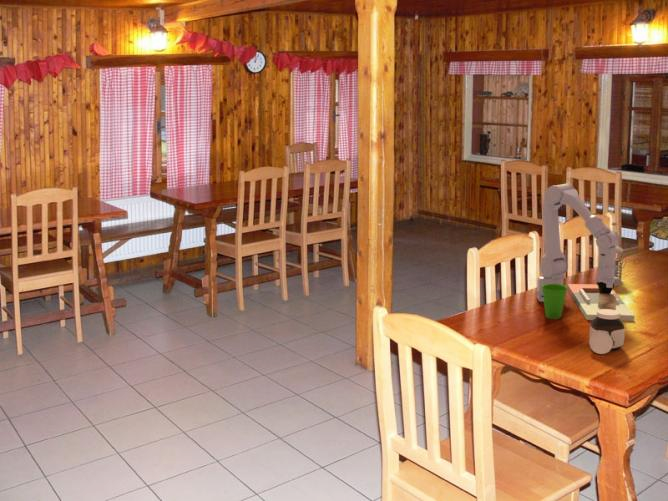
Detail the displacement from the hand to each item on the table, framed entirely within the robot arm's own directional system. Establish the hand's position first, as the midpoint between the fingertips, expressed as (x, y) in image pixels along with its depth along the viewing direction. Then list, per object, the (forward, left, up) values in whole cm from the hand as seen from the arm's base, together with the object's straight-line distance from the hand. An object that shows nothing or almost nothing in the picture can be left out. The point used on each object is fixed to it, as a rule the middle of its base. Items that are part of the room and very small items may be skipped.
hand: (604, 302), depth 300 cm
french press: (+12, +43, -4) cm, 45 cm away
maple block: (0, -4, -1) cm, 4 cm away
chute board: (0, +10, -3) cm, 10 cm away
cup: (-19, -8, -4) cm, 21 cm away
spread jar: (-8, -42, -4) cm, 43 cm away
